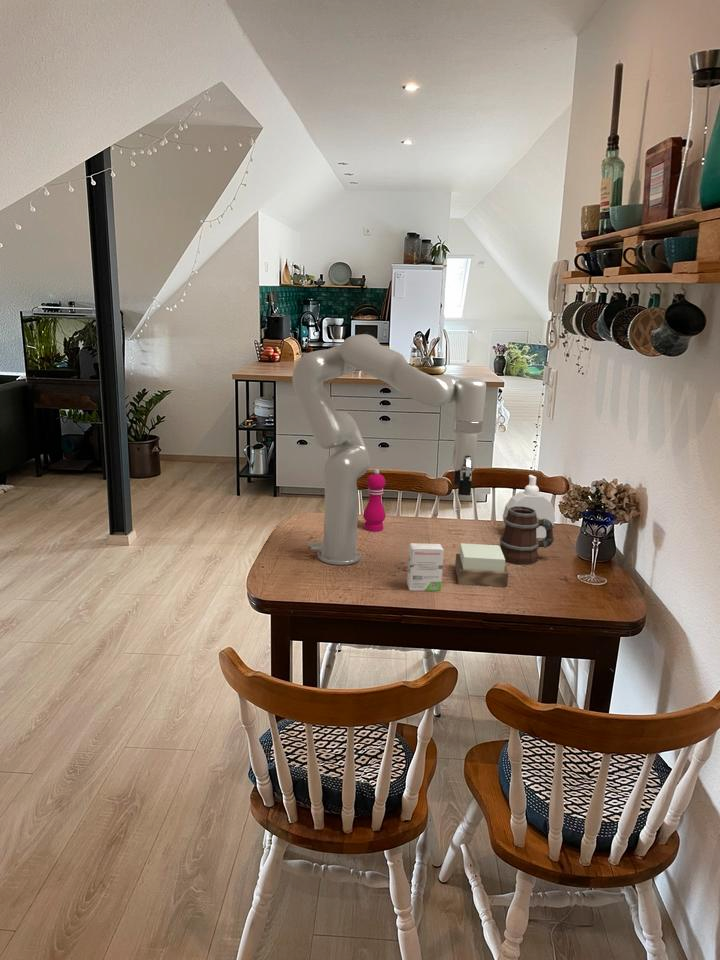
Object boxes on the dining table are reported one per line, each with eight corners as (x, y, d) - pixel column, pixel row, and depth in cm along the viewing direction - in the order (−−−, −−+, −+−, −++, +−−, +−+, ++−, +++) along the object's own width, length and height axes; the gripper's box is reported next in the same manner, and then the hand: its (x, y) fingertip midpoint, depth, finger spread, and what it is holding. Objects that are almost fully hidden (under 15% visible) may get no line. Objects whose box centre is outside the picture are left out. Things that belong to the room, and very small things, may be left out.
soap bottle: (547, 533, 244) (553, 475, 239) (553, 538, 239) (560, 479, 234) (500, 533, 242) (506, 474, 237) (505, 538, 237) (511, 478, 232)
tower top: (463, 569, 199) (464, 557, 198) (459, 554, 209) (460, 543, 208) (504, 571, 198) (505, 559, 197) (498, 557, 209) (499, 545, 208)
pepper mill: (361, 530, 238) (363, 471, 233) (364, 524, 245) (367, 465, 239) (383, 533, 237) (386, 472, 231) (386, 526, 244) (389, 467, 238)
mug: (498, 562, 216) (503, 514, 212) (497, 548, 227) (502, 502, 223) (553, 568, 214) (559, 519, 210) (549, 553, 225) (555, 507, 221)
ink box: (437, 584, 198) (441, 542, 195) (441, 591, 194) (444, 549, 191) (406, 583, 198) (409, 542, 195) (408, 591, 193) (411, 548, 190)
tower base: (458, 586, 199) (459, 570, 198) (454, 568, 211) (456, 553, 210) (506, 589, 198) (508, 573, 197) (500, 571, 211) (501, 556, 210)
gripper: (449, 419, 200) (444, 480, 204) (457, 432, 183) (451, 498, 187) (477, 421, 200) (471, 481, 204) (487, 434, 183) (480, 499, 187)
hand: (461, 489), depth 196 cm, fingers open, 9 cm apart
